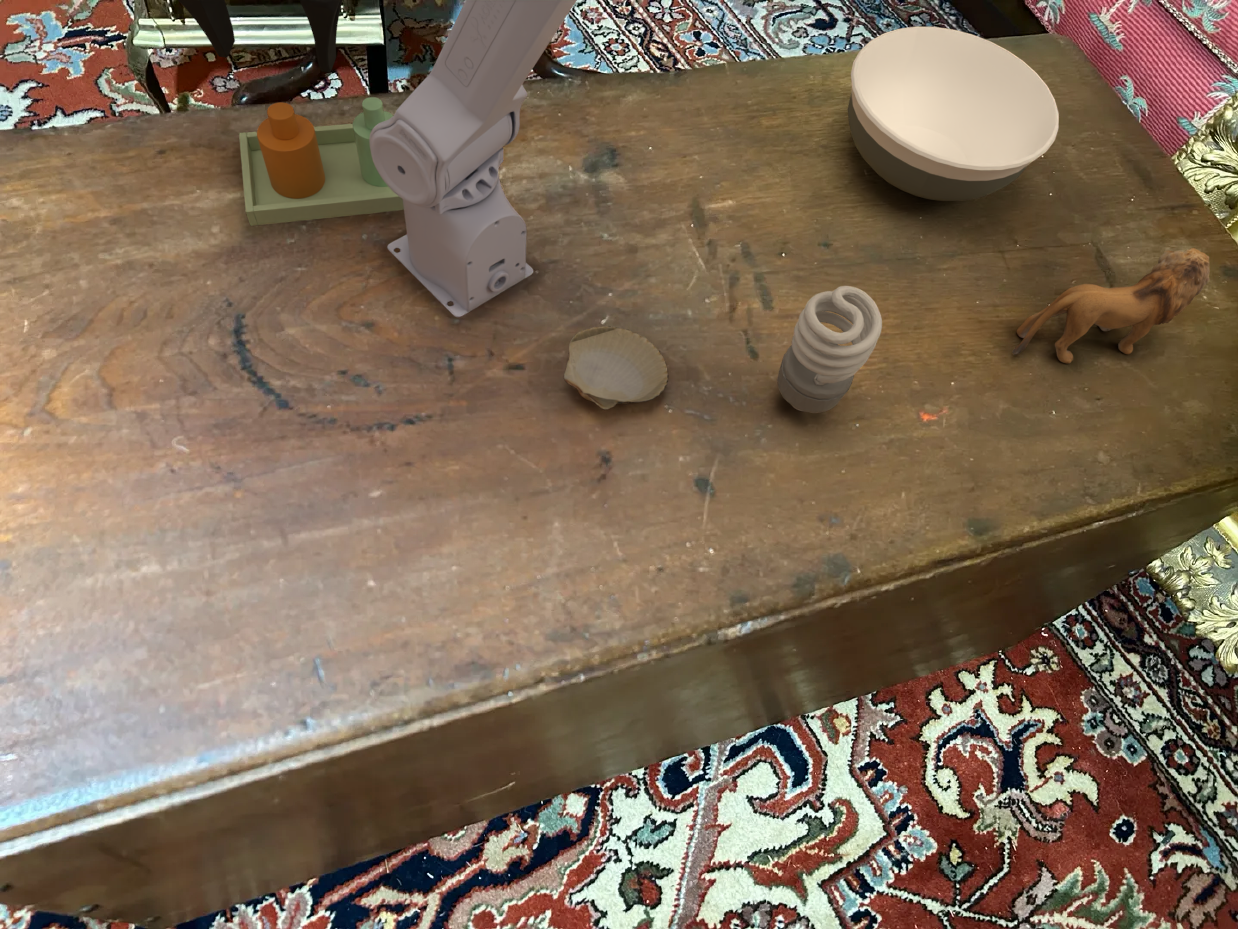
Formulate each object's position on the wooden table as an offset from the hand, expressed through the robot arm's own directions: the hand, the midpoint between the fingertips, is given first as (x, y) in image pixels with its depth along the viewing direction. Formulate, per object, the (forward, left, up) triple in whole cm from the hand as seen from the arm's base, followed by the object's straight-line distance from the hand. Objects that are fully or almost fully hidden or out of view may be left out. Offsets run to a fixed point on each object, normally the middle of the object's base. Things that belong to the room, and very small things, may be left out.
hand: (277, 56), depth 69 cm
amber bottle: (-2, +2, -10) cm, 10 cm away
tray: (-5, -3, -10) cm, 12 cm away
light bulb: (-44, -16, -11) cm, 48 cm away
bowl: (-33, -46, -11) cm, 57 cm away
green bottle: (-5, -4, -10) cm, 12 cm away
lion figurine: (-55, -41, -11) cm, 69 cm away
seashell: (-33, -6, -11) cm, 35 cm away
